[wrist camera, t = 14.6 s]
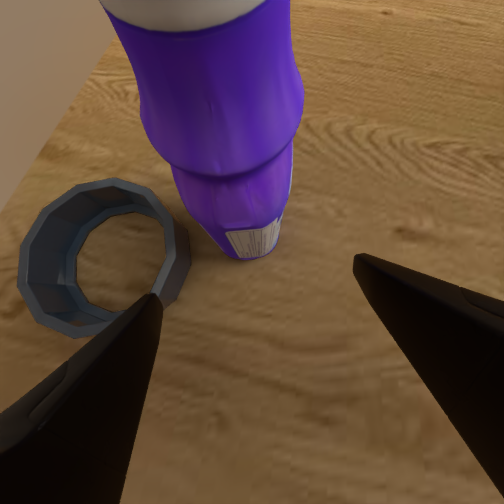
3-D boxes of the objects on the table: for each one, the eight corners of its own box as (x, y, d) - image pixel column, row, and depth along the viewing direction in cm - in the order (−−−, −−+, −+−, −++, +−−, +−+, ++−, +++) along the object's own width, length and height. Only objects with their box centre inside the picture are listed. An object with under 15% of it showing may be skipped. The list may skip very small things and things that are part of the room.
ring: (210, 220, 20) (199, 204, 17) (154, 351, 18) (129, 363, 14) (100, 184, 22) (70, 162, 18) (34, 300, 19) (-14, 300, 16)
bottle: (281, 262, 19) (437, -59, 2) (219, 266, 19) (-115, 8, 2) (274, 190, 21) (328, -320, 4) (217, 194, 21) (19, -269, 4)
